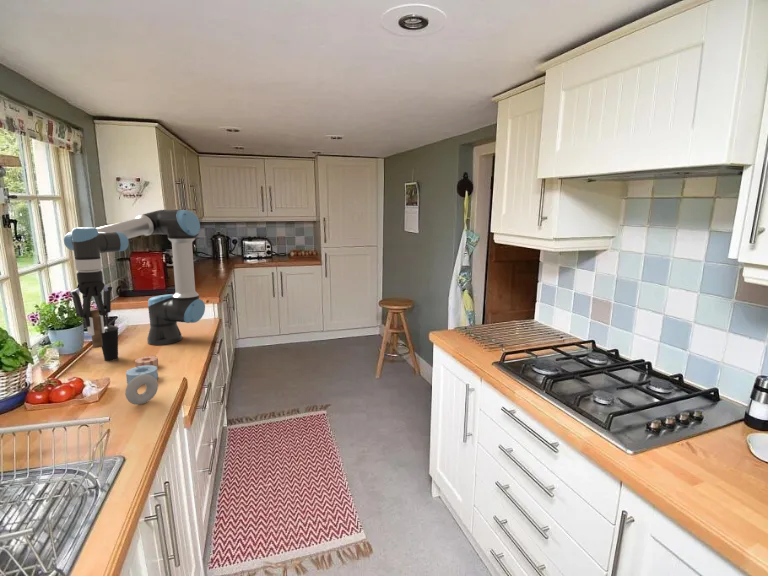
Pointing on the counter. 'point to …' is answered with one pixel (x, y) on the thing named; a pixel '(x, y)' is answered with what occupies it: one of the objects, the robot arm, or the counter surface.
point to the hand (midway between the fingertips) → (96, 333)
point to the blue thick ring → (141, 372)
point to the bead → (147, 361)
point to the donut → (136, 383)
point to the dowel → (96, 329)
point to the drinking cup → (110, 342)
